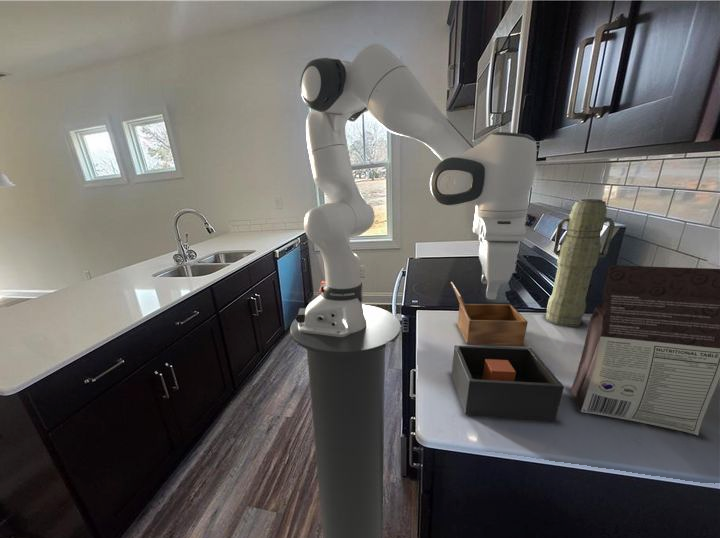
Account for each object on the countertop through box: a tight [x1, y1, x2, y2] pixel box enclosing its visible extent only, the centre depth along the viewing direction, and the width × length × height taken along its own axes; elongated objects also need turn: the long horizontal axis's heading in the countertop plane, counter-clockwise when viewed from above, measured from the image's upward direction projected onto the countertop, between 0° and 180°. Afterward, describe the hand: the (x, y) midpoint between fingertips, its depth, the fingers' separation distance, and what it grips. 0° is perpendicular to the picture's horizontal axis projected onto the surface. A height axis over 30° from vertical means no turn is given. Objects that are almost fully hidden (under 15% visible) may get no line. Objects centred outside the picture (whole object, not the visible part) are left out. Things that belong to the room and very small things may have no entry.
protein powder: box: [569, 264, 720, 436], centre depth 55 cm, size 16×9×28 cm, turn 66°
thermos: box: [545, 198, 616, 327], centre depth 90 cm, size 9×12×35 cm
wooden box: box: [457, 303, 529, 347], centre depth 89 cm, size 14×12×7 cm
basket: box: [451, 344, 565, 422], centre depth 65 cm, size 16×14×8 cm
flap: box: [450, 281, 470, 318], centre depth 88 cm, size 7×12×1 cm
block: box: [482, 359, 516, 381], centre depth 65 cm, size 4×4×6 cm
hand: (488, 290), depth 67 cm, fingers open, 8 cm apart
